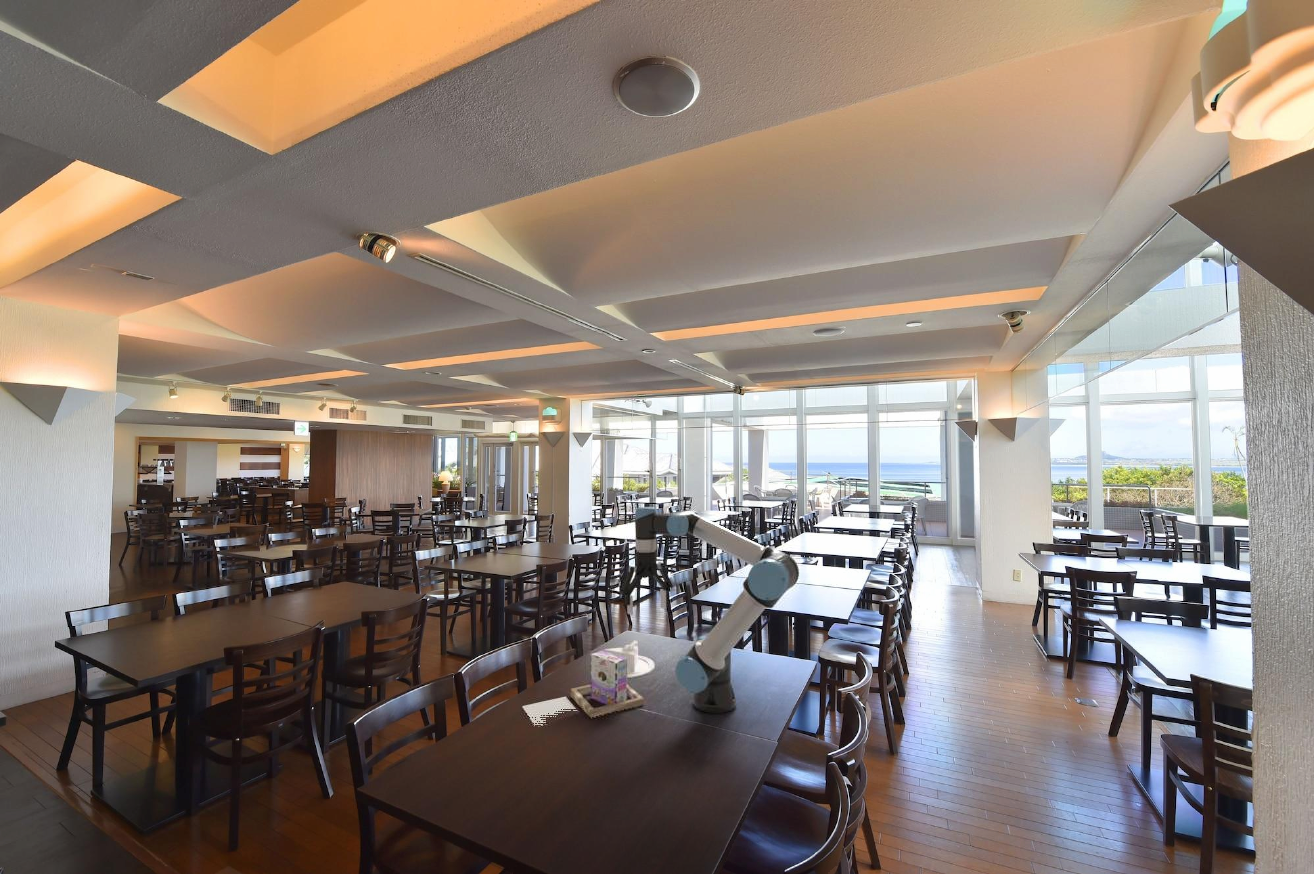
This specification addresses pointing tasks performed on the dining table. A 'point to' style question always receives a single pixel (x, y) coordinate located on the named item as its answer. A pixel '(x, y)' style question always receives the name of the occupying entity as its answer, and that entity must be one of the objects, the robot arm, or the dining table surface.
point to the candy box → (608, 678)
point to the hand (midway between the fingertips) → (647, 611)
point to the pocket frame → (593, 712)
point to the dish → (633, 660)
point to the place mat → (547, 709)
